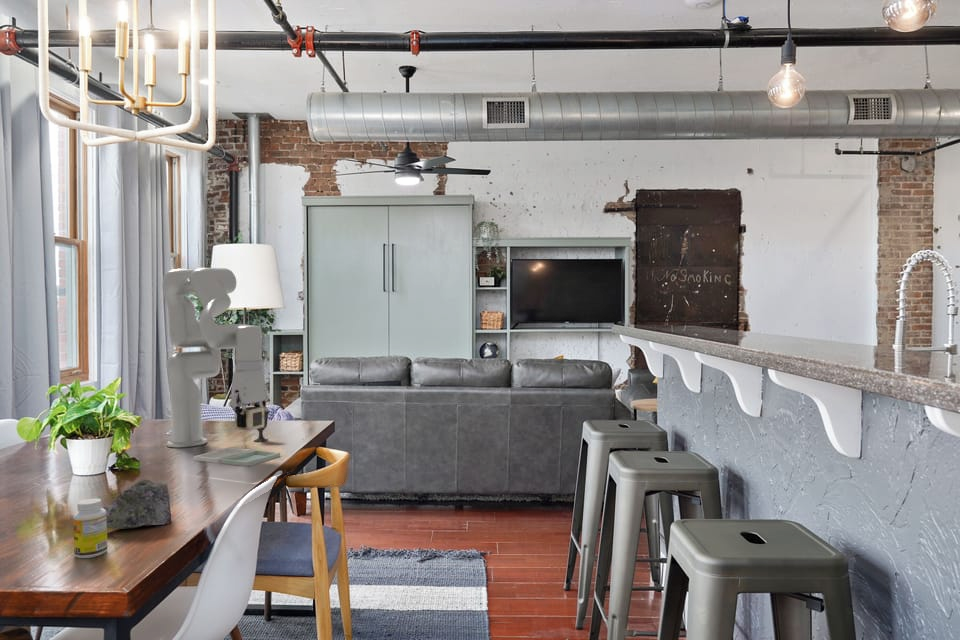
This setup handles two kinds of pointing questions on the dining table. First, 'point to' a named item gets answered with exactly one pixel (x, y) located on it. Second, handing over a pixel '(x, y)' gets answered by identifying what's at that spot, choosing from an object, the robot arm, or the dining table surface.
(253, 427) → the light wooden cube
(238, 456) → the tray sage
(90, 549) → the supplement bottle
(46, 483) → the dining table surface
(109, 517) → the mineral rock
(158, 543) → the dining table surface
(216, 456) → the tray white
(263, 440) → the sundae
